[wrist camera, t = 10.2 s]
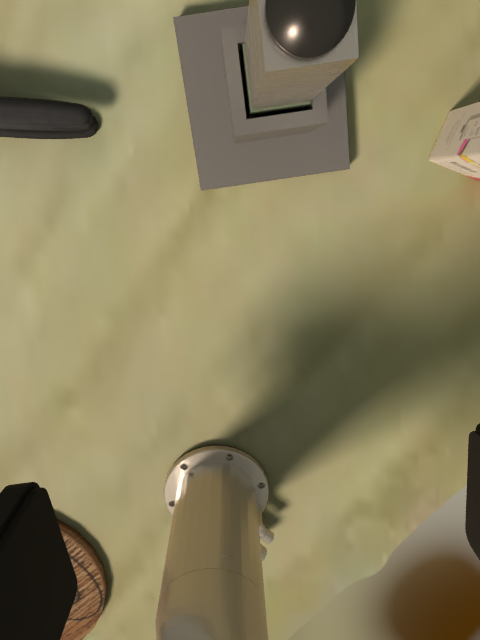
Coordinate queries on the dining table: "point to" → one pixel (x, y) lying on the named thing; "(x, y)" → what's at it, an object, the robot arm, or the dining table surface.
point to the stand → (233, 114)
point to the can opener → (45, 119)
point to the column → (296, 51)
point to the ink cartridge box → (460, 142)
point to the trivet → (84, 585)
